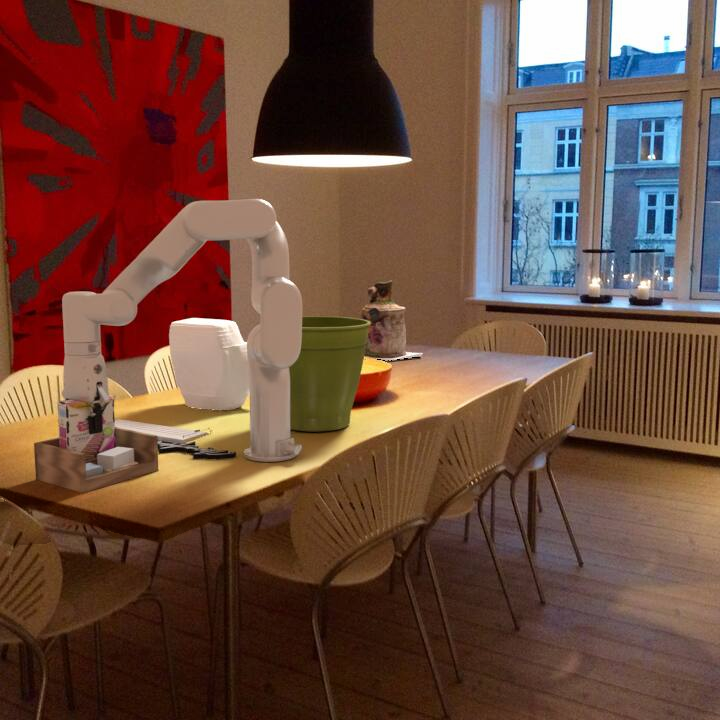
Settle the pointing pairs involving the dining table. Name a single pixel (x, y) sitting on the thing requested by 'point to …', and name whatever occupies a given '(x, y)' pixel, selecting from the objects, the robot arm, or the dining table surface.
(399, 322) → the cookie jar
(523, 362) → the dining table surface
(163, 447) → the nameplate
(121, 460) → the offcut
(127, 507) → the dining table surface
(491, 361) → the dining table surface
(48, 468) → the wooden divided box
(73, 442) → the candy bar box
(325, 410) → the plant pot
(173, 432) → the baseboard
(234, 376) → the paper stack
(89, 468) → the offcut
